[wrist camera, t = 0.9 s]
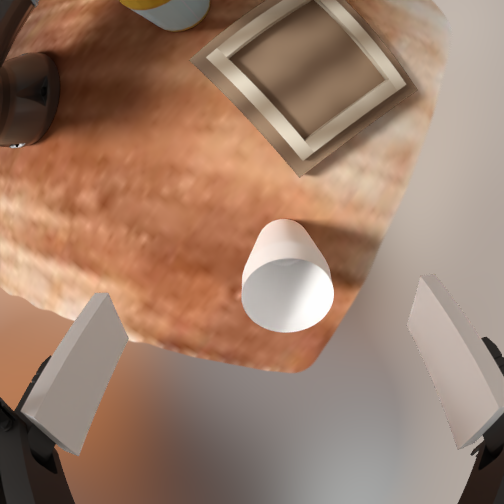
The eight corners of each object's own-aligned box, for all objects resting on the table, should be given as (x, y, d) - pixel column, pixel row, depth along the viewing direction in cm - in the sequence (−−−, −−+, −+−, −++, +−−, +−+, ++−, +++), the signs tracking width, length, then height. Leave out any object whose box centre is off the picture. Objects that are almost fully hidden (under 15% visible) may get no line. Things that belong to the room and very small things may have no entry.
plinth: (194, 63, 27) (185, 58, 24) (311, -20, 21) (315, -33, 18) (297, 173, 33) (300, 180, 29) (408, 90, 26) (422, 89, 23)
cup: (294, 195, 34) (305, 237, 24) (330, 251, 37) (350, 308, 27) (234, 233, 37) (219, 287, 26) (273, 283, 40) (273, 345, 29)
